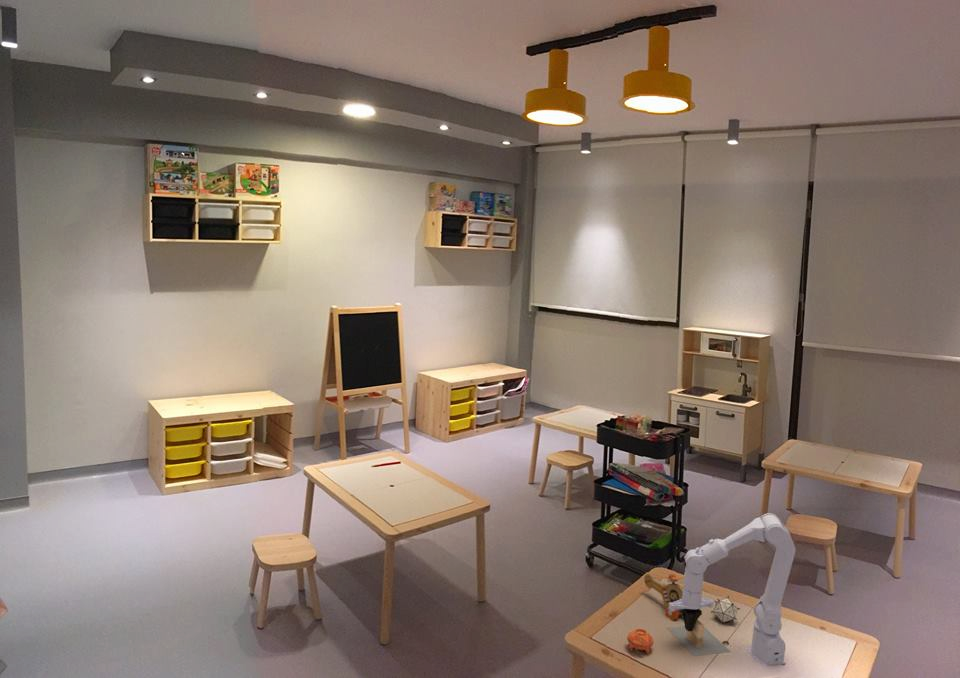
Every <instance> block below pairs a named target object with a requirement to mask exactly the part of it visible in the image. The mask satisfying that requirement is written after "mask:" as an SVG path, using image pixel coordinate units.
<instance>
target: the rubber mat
mask: <svg viewBox="0 0 960 678" xmlns="http://www.w3.org/2000/svg"><path fill="white" fill-rule="evenodd" d="M666 629H667V631H669V632H670V633H671V634H672V636H673V637H675V639H677V640H678V642H680V644H681V645H683V647H684V648H685V649H686V650H687V651H688V652H689V653H690V654H691V655H692V656H693V657H698V656H707V655H716V654H722V653H731V650H730V649H729V648H728V647H727V646H726V645H725V644H724V643H722V642H721V641H720V640H719V639H718V638H717V637H716V636H715V635H713V634H712V633H711V632H710V631H709V630H708V629H707V628H706V627H705V626H704V635H703V645H702V647H696V646H695V645H694V644H693V643H692V642H691V641H690V640H689V639H688V638H687V637H686V633H687V630H686V629H685V625H682V626H681V625H680V626H670V627H666Z"/></svg>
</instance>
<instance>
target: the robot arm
mask: <svg viewBox="0 0 960 678" xmlns="http://www.w3.org/2000/svg"><path fill="white" fill-rule="evenodd" d="M753 540H755V541H757V542H762V543H765V540H766V541H767V542H769V543H770V544H771V545H772V546H774V547H775V553H774V556H773V560H772V564H771V567H770V571H769V575H768V578H767V582H766V584H765V585H766V586H765V590H764V594H763V595H761V596H760V598H759V600H758V602H757V603H756V604H755V605H754V607H753V613H754V616H755V617H756V618H755V619H756V620H755V621H754V623H753V628H752V629H753V630H752V638H751V646H748V647H744V650H746V651H747V652H748V653H749V654H750V655H751V656H752V657H753V658H755V659H756V660H757V661H758V662H759V663H760V664H761V665H762V666H764V667H765V666H766V667H767V666H773V665H786V663H787V662H786V661H785V660H784V659H785V652H786V642H785V640H784V639H783V638H782V637H781V635H780V632H781V630H782V625H783V624H782V613H783V612H782V601H783V597H784V594H785V590H786V586H787V584H788V579H789V577H790V573H791V569H792V565H793V562H794V558H795V555H796V550H797V549H796V546H795V544H794V541H793V539H792V536H791V533H790V532H789V530H788V529H787V527H786V526H785V524H784V522H783V521H782V519H780V518H779V516H777V515H776V514H774V513H771V512H770V513H765V514H764V513H763V514H762V515H761V516H760V517H756V518H755V519H753V520H752V521H751V522H750V523H748V524H747V525H745V526H743V527H742V528H740V529H738V530H737V531H735V532H733V533H731V534H729V536H727V537H725V538H723V539H722V538H721V539H720V538H715V539H713V538H711V539H709V540H708V543H705V544H704V545H702V546H700V547H696V548H695V549H694V548H693V549H689V550H688V551H687V552H686V553H685V555H684V556H683V558H684V561H685V568H684V574H683V575H684V576H683V585H682V587H683V594H682V599H680V600H677V601H674V602H671V603H669V609H670V610H671V611H675V610H681V613H682V614H681V615H682V618H683V623H684V626H685V629H686V630H687V631H692V630H693V628H694V625H695V623H696V621H697V619H698V620H699V618H700V617H701V616H702V615H703V613H702V612H703V611H702V610H701V608H707V607H708V608H714V601H713V600H712V599H711V598H702V596H703V587H704V586H703V585H704V573H705V572H706V570H707V567H709V566H711V565H712V564H714V563H716V562H718V561H720V560H722V559H724V558H726V557H728V555H729V552H730V550H732V549H733V550H734V549H735V548H737V547H739V546H741V545H744V544H746V543H749V542H750V541H753Z"/></svg>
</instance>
